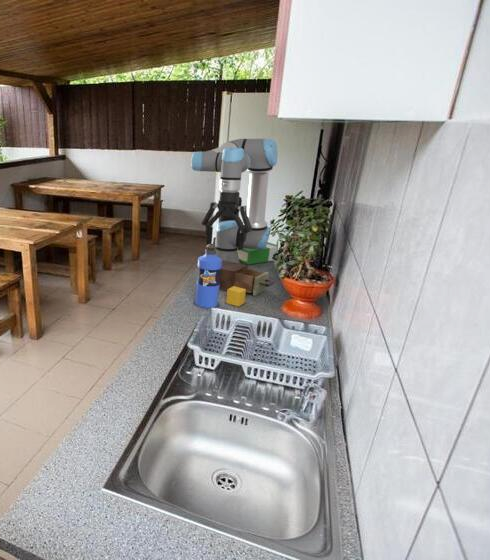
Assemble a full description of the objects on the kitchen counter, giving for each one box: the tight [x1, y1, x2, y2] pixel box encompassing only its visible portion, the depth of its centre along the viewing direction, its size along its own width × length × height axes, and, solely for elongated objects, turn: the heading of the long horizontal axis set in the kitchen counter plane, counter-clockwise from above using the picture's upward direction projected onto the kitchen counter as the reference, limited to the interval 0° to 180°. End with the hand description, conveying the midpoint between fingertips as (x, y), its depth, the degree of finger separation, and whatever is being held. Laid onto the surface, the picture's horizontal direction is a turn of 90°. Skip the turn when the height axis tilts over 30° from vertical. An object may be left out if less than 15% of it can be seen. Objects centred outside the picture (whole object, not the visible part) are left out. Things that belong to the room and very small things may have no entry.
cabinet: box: [219, 260, 249, 292], centre depth 194 cm, size 15×13×10 cm
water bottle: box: [194, 243, 222, 309], centre depth 170 cm, size 9×9×25 cm
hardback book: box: [237, 241, 278, 265], centre depth 237 cm, size 18×7×24 cm
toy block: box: [225, 286, 247, 307], centre depth 174 cm, size 6×6×6 cm
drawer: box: [234, 267, 276, 297], centre depth 186 cm, size 18×11×8 cm, turn 49°
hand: (224, 246), depth 165 cm, fingers open, 13 cm apart
